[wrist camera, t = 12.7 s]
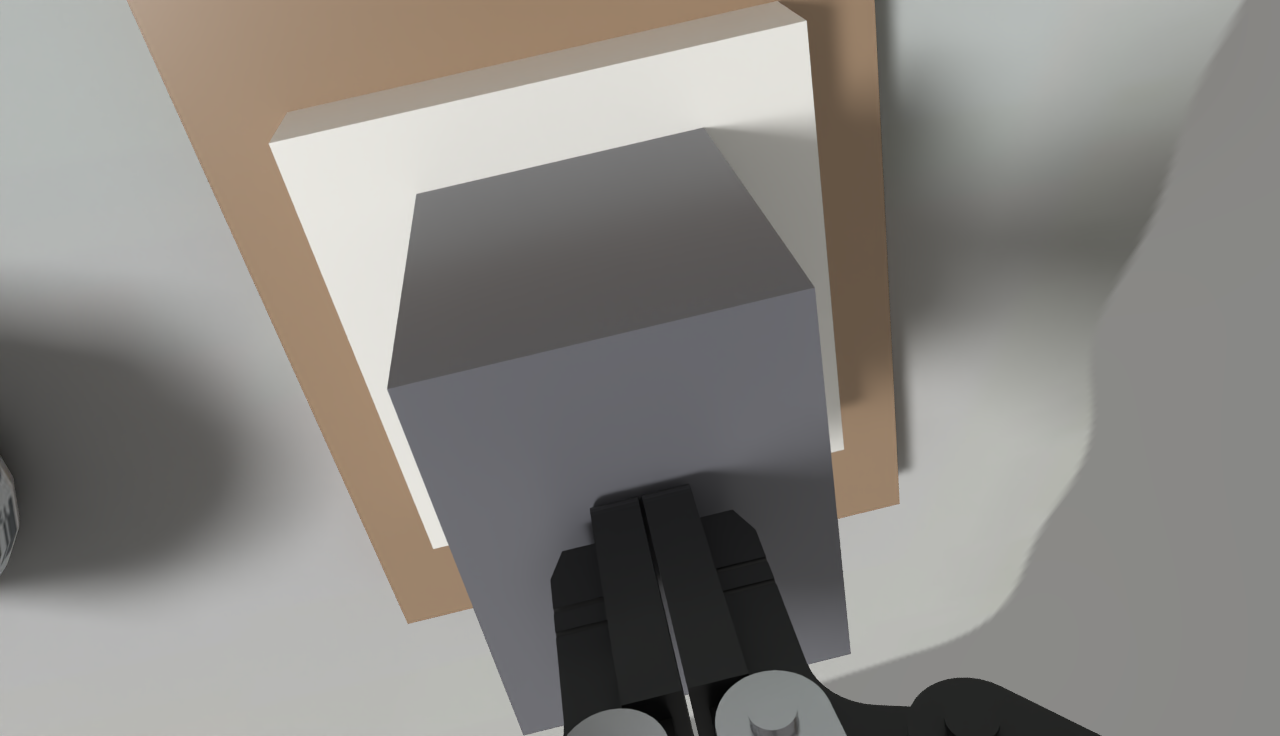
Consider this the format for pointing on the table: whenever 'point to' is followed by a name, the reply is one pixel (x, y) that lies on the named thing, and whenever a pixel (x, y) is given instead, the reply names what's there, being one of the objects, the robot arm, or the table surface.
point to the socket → (510, 141)
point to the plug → (612, 383)
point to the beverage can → (7, 515)
